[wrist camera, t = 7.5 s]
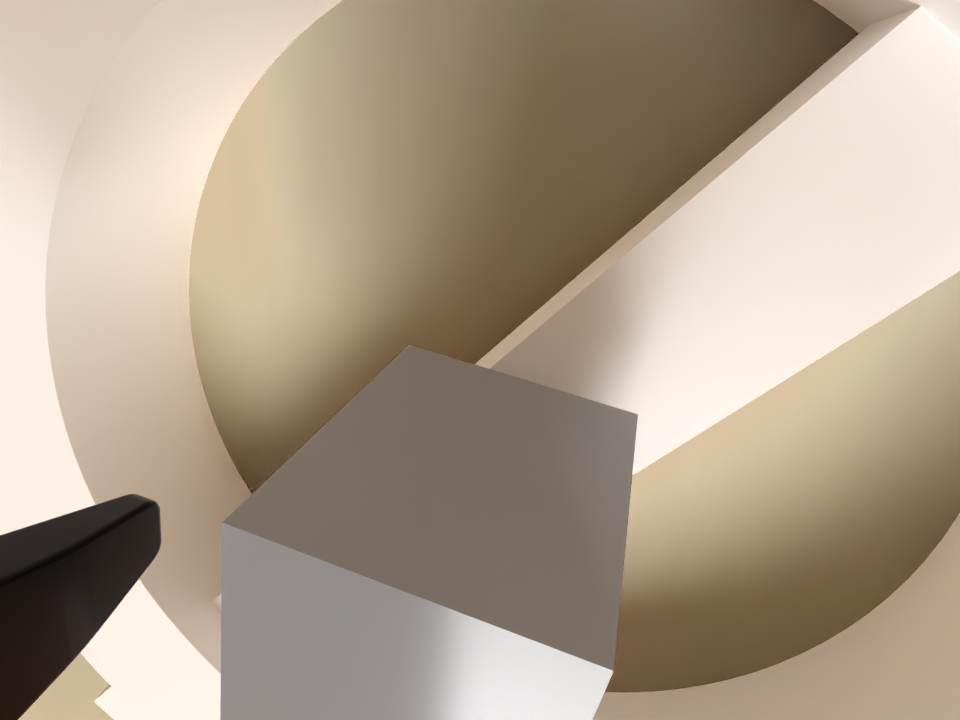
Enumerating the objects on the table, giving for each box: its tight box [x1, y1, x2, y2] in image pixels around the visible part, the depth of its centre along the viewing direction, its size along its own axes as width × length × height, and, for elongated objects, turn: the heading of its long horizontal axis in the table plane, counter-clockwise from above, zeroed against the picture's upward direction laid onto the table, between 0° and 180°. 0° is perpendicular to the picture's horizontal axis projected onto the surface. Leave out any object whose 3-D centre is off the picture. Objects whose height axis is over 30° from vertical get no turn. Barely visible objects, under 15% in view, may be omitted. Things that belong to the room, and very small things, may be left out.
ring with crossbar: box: [0, 0, 960, 720], centre depth 14 cm, size 28×28×5 cm
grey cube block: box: [220, 344, 638, 720], centre depth 9 cm, size 5×4×5 cm
